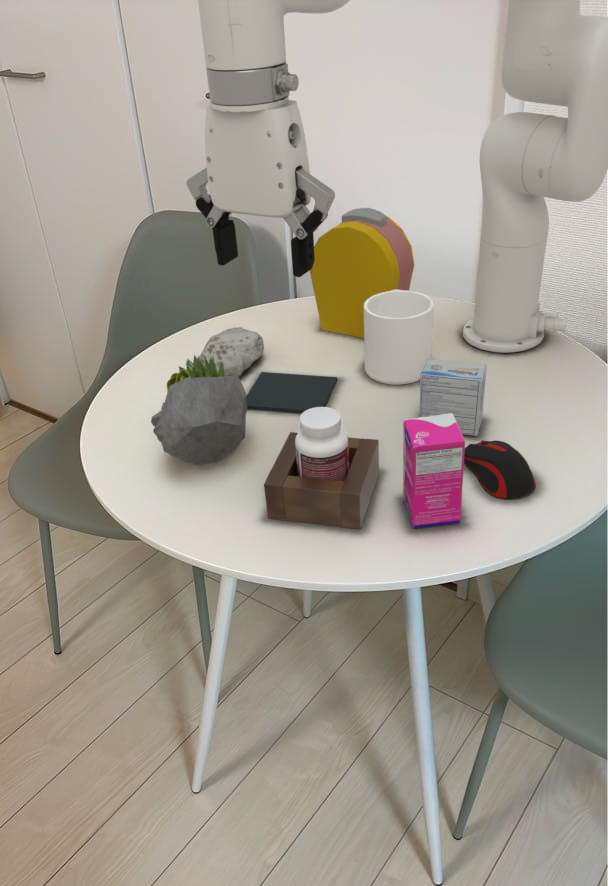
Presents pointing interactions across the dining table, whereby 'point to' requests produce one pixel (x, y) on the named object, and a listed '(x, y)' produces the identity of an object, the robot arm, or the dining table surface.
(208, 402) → the potted plant
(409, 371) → the mug
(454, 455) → the supplement box
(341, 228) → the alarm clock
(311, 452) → the pill bottle
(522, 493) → the computer mouse
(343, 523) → the holder
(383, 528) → the dining table surface
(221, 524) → the dining table surface
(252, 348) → the decorative stone
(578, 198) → the robot arm
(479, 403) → the medicine box
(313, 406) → the mat
